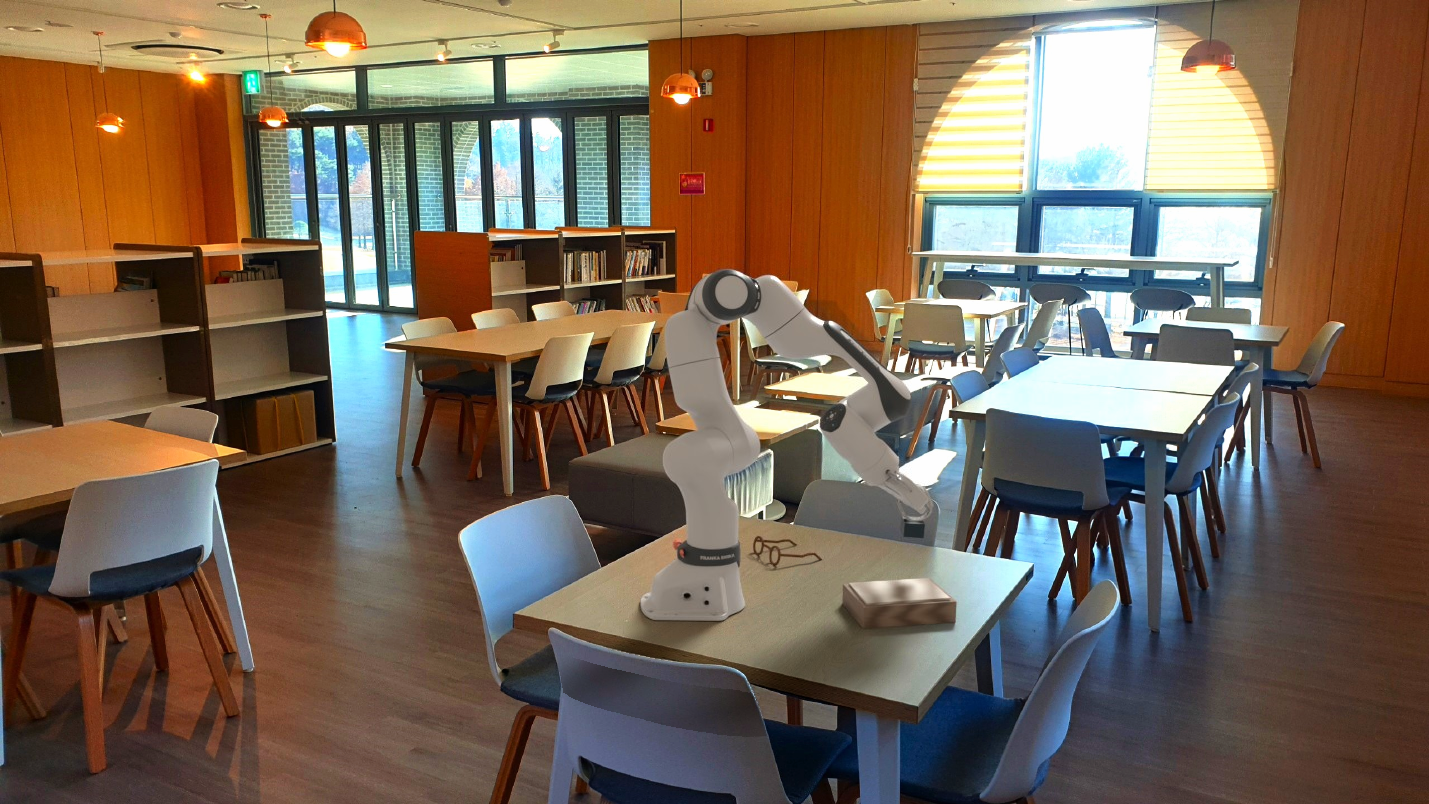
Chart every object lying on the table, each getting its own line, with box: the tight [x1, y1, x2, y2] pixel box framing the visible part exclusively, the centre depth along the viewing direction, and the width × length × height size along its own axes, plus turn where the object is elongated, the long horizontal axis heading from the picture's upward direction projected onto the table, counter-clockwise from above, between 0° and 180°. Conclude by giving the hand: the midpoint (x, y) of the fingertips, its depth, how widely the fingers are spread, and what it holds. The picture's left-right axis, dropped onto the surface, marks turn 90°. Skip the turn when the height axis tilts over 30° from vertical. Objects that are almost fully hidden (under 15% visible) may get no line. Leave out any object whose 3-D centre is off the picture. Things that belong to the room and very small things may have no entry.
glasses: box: [752, 535, 823, 566], centre depth 251 cm, size 13×13×5 cm
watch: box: [896, 483, 935, 539], centre depth 221 cm, size 6×8×11 cm
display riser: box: [841, 577, 958, 629], centre depth 215 cm, size 20×14×5 cm
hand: (916, 507), depth 221 cm, fingers closed on watch, 4 cm apart
